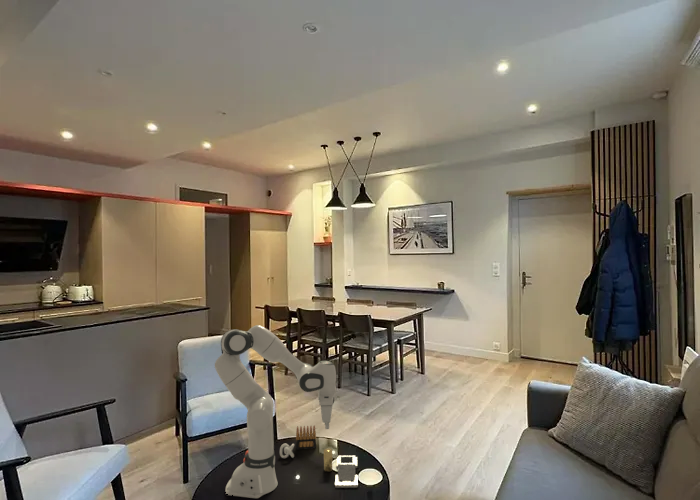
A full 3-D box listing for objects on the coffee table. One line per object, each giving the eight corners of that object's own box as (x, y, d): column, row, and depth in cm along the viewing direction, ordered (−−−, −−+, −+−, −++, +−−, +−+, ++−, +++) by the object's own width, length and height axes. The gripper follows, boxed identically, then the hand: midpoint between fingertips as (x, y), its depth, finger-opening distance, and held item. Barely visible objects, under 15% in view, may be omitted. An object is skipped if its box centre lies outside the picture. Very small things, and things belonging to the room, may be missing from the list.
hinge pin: (323, 471, 188) (323, 452, 188) (324, 467, 192) (324, 448, 192) (332, 471, 188) (331, 452, 188) (332, 467, 192) (332, 448, 192)
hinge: (335, 487, 175) (334, 474, 175) (337, 459, 199) (337, 447, 199) (357, 487, 175) (357, 473, 175) (357, 459, 199) (356, 447, 199)
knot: (286, 451, 208) (286, 439, 208) (299, 454, 205) (299, 443, 205) (277, 457, 202) (277, 446, 202) (290, 461, 198) (290, 449, 198)
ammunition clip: (316, 446, 213) (315, 424, 213) (316, 448, 211) (316, 425, 211) (296, 448, 211) (295, 425, 212) (295, 449, 210) (295, 427, 210)
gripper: (322, 387, 201) (323, 415, 200) (318, 403, 180) (319, 433, 180) (334, 387, 200) (335, 415, 200) (332, 403, 180) (333, 433, 180)
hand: (328, 424), depth 190 cm, fingers open, 8 cm apart
